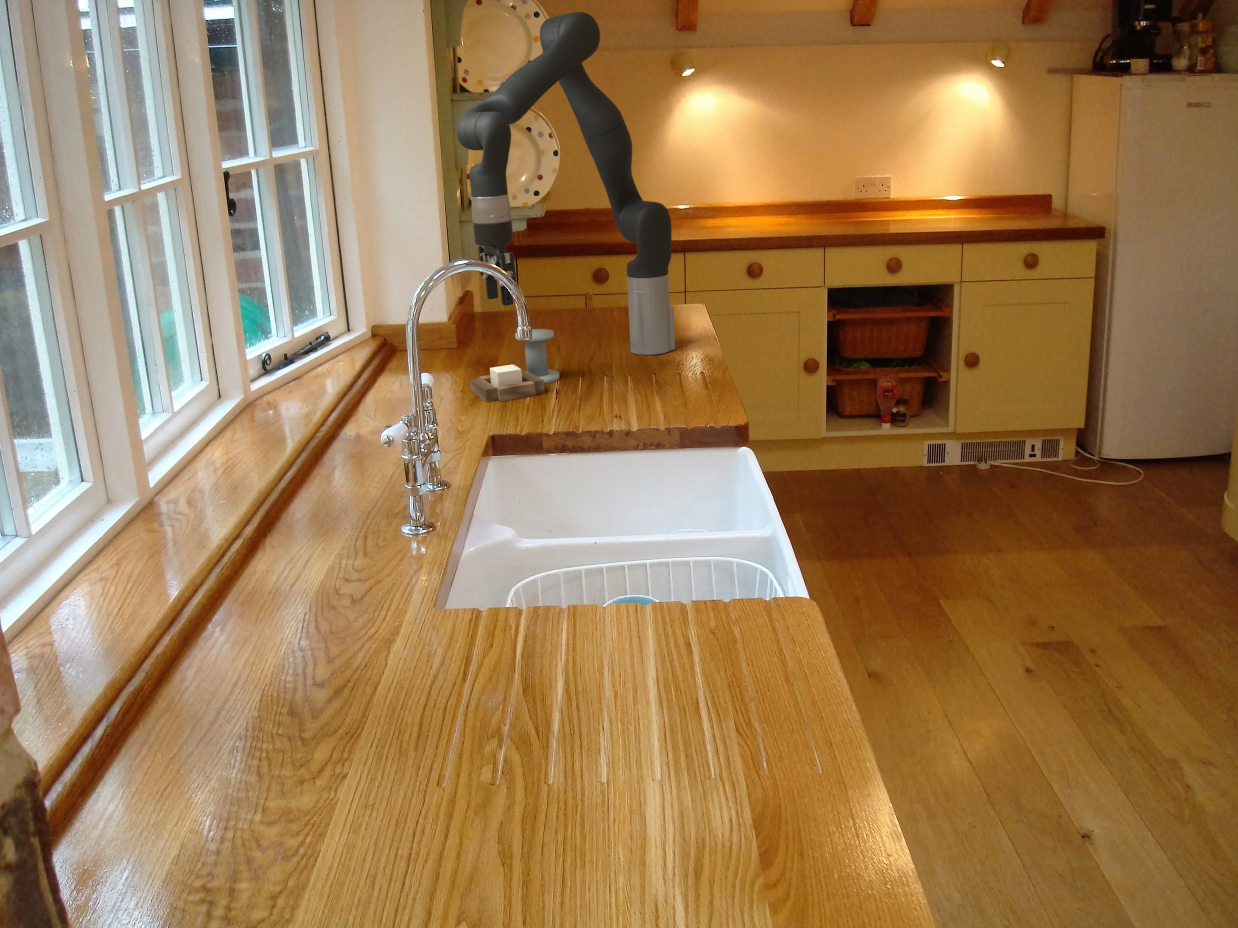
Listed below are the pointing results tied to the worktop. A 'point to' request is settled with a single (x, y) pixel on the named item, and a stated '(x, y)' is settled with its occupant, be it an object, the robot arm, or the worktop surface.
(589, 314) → the worktop surface
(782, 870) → the worktop surface
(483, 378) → the tray
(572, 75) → the robot arm
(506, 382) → the block
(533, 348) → the bobbin
